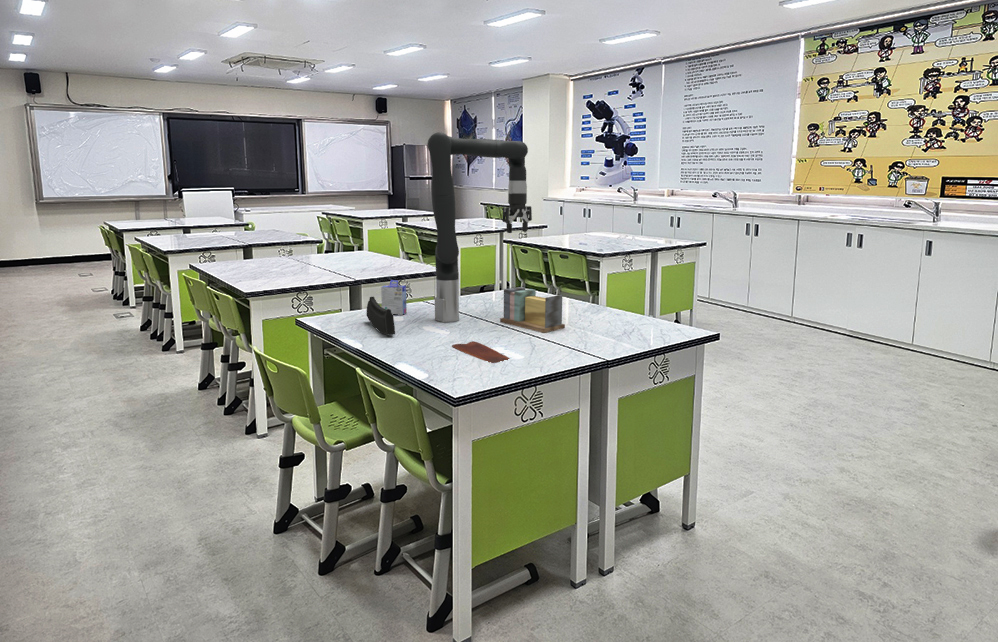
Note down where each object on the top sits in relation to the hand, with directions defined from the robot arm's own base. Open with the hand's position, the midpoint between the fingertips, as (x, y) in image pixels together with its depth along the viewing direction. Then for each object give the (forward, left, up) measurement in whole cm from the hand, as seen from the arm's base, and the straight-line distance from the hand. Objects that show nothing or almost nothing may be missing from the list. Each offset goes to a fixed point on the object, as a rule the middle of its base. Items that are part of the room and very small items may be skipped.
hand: (517, 232), depth 281 cm
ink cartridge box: (-34, +41, -36) cm, 65 cm away
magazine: (-54, +20, -36) cm, 68 cm away
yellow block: (-4, -18, -35) cm, 39 cm away
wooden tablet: (-47, -32, -37) cm, 68 cm away
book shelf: (-4, -14, -36) cm, 39 cm away
